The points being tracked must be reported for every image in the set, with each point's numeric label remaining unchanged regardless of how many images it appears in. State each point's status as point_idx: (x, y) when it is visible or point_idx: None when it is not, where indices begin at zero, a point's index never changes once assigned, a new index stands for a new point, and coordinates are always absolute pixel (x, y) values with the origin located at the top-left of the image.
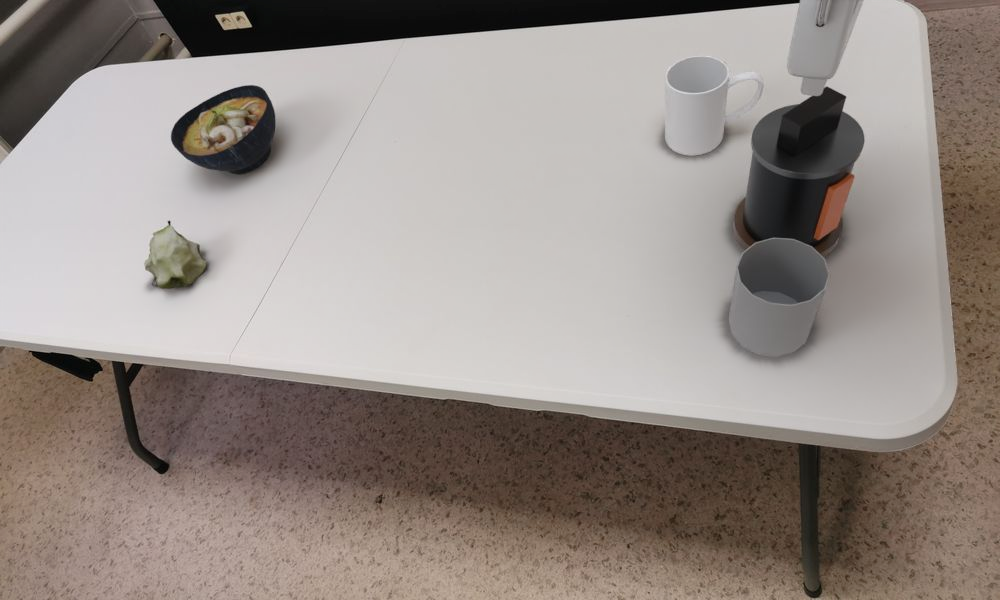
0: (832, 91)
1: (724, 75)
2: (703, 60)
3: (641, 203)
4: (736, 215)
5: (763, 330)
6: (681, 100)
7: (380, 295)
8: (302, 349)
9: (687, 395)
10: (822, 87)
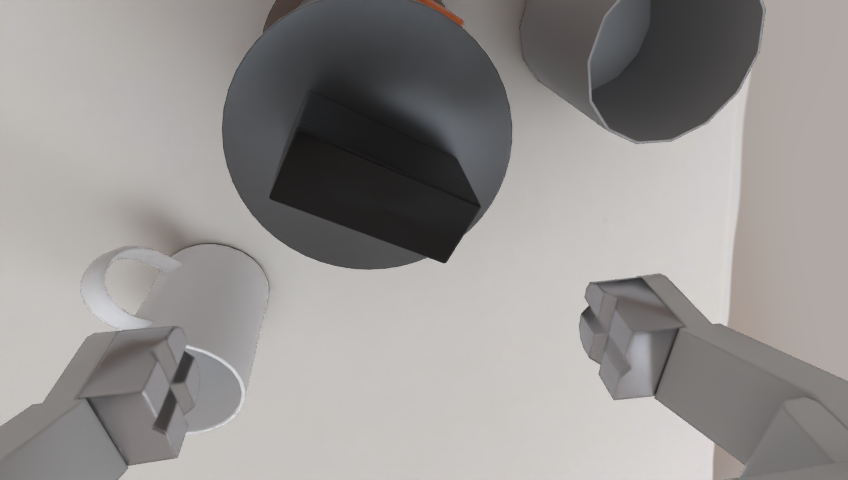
0: (289, 175)
1: None
2: None
3: (396, 290)
4: None
5: (694, 35)
6: (248, 376)
7: (622, 446)
8: (696, 460)
9: None
10: (684, 298)
